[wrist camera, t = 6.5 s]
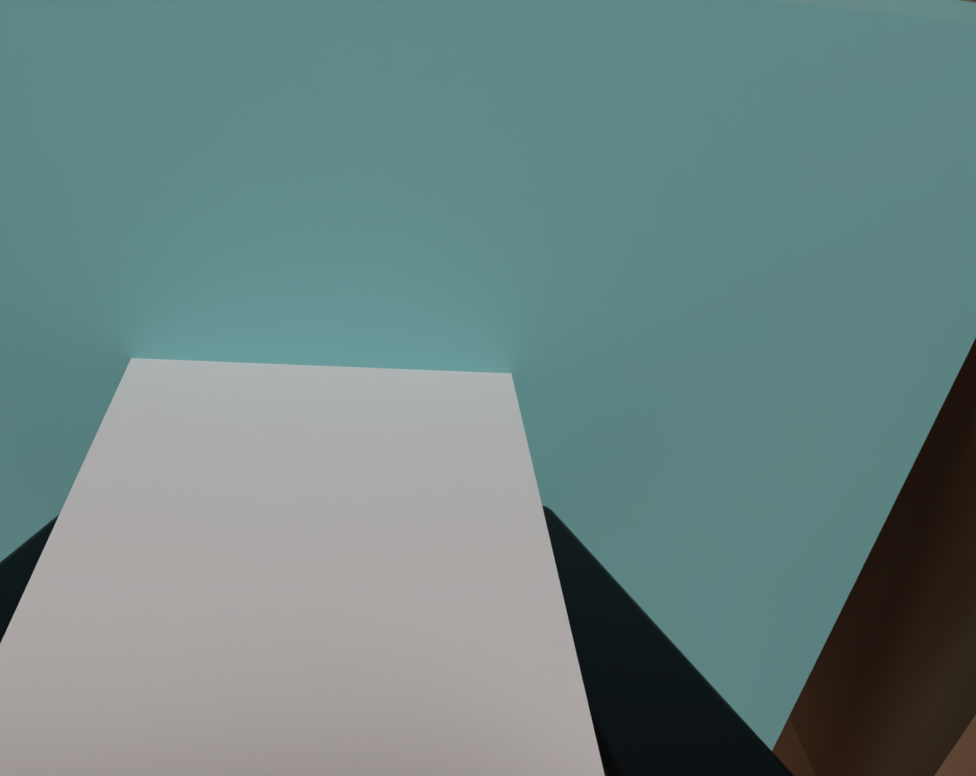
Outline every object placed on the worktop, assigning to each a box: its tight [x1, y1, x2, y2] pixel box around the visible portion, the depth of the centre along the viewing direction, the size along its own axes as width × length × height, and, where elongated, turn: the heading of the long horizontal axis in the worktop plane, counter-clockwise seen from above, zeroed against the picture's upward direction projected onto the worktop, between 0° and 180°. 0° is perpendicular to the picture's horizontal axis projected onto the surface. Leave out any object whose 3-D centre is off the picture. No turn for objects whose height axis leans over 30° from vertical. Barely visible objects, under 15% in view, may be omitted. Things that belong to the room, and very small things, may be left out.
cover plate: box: [0, 0, 976, 776], centre depth 7 cm, size 11×9×5 cm
